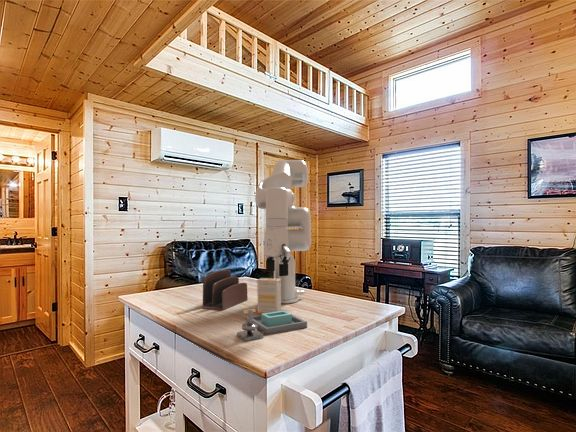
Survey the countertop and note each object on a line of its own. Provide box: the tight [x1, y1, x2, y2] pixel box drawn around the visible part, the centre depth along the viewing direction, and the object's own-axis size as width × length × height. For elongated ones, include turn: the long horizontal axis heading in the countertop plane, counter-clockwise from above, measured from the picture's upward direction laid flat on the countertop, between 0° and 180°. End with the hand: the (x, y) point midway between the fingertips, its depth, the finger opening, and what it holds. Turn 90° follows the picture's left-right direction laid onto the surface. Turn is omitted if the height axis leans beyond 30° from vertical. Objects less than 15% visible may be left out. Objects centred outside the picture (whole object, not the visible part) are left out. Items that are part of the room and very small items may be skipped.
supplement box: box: [256, 277, 282, 315], centre depth 127 cm, size 8×5×13 cm, turn 71°
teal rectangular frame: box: [260, 310, 293, 327], centre depth 112 cm, size 10×6×3 cm, turn 120°
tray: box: [253, 314, 308, 336], centre depth 112 cm, size 15×15×2 cm
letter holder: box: [201, 269, 248, 312], centre depth 141 cm, size 10×20×14 cm, turn 157°
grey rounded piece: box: [236, 308, 264, 342], centre depth 100 cm, size 6×6×8 cm
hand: (276, 273), depth 113 cm, fingers open, 9 cm apart
